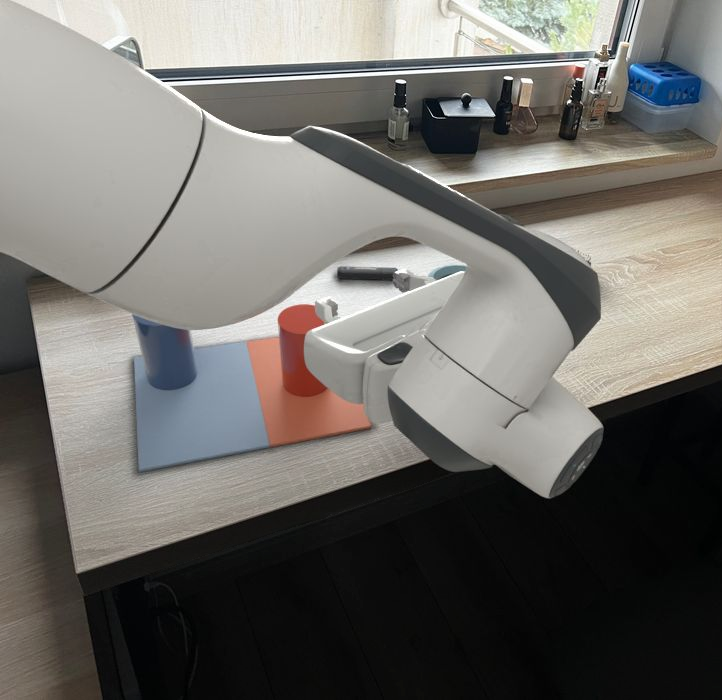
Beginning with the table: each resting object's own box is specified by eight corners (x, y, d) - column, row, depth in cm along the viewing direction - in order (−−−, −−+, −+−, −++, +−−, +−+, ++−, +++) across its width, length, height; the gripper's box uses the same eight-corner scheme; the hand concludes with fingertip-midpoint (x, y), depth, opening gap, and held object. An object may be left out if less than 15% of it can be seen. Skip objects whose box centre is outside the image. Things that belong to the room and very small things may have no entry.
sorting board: (139, 472, 79) (138, 469, 79) (134, 359, 93) (133, 356, 93) (371, 428, 88) (371, 425, 87) (334, 331, 102) (334, 328, 102)
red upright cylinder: (287, 400, 89) (282, 336, 83) (278, 370, 94) (273, 307, 87) (335, 392, 91) (333, 329, 85) (324, 363, 96) (323, 301, 89)
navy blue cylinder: (147, 394, 88) (132, 328, 82) (146, 363, 92) (131, 298, 86) (199, 385, 90) (188, 321, 84) (195, 356, 94) (184, 292, 88)
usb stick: (397, 273, 115) (398, 264, 114) (398, 282, 113) (398, 273, 112) (337, 271, 114) (337, 263, 113) (337, 280, 112) (337, 272, 111)
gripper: (534, 296, 70) (441, 235, 77) (359, 376, 58) (270, 294, 65) (524, 348, 73) (437, 284, 81) (358, 432, 62) (274, 349, 69)
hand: (361, 289), depth 73 cm, fingers open, 8 cm apart
